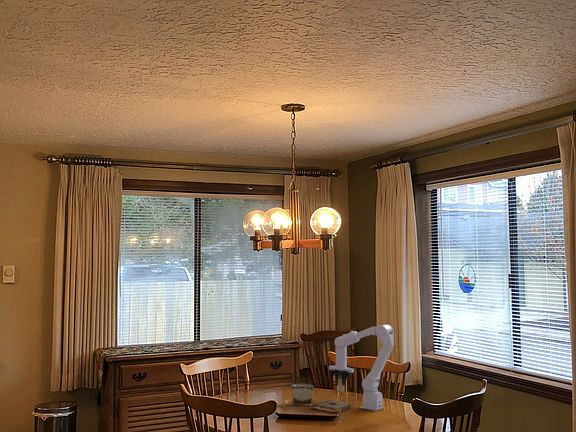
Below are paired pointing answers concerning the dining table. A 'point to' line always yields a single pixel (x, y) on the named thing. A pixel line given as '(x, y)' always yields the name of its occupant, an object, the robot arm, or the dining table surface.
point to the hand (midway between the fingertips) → (341, 384)
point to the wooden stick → (340, 384)
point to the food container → (302, 393)
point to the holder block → (333, 405)
